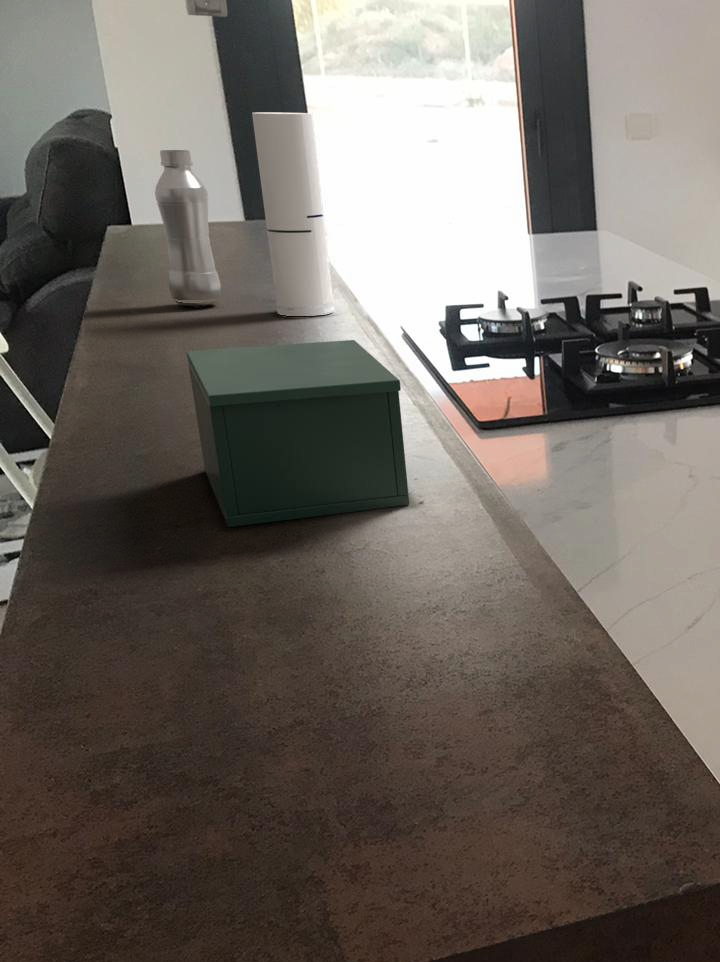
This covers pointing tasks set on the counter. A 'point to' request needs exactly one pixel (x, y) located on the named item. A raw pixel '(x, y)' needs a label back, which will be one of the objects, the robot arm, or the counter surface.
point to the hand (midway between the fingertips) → (207, 16)
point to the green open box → (303, 456)
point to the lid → (288, 372)
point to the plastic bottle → (186, 230)
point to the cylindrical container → (293, 210)
